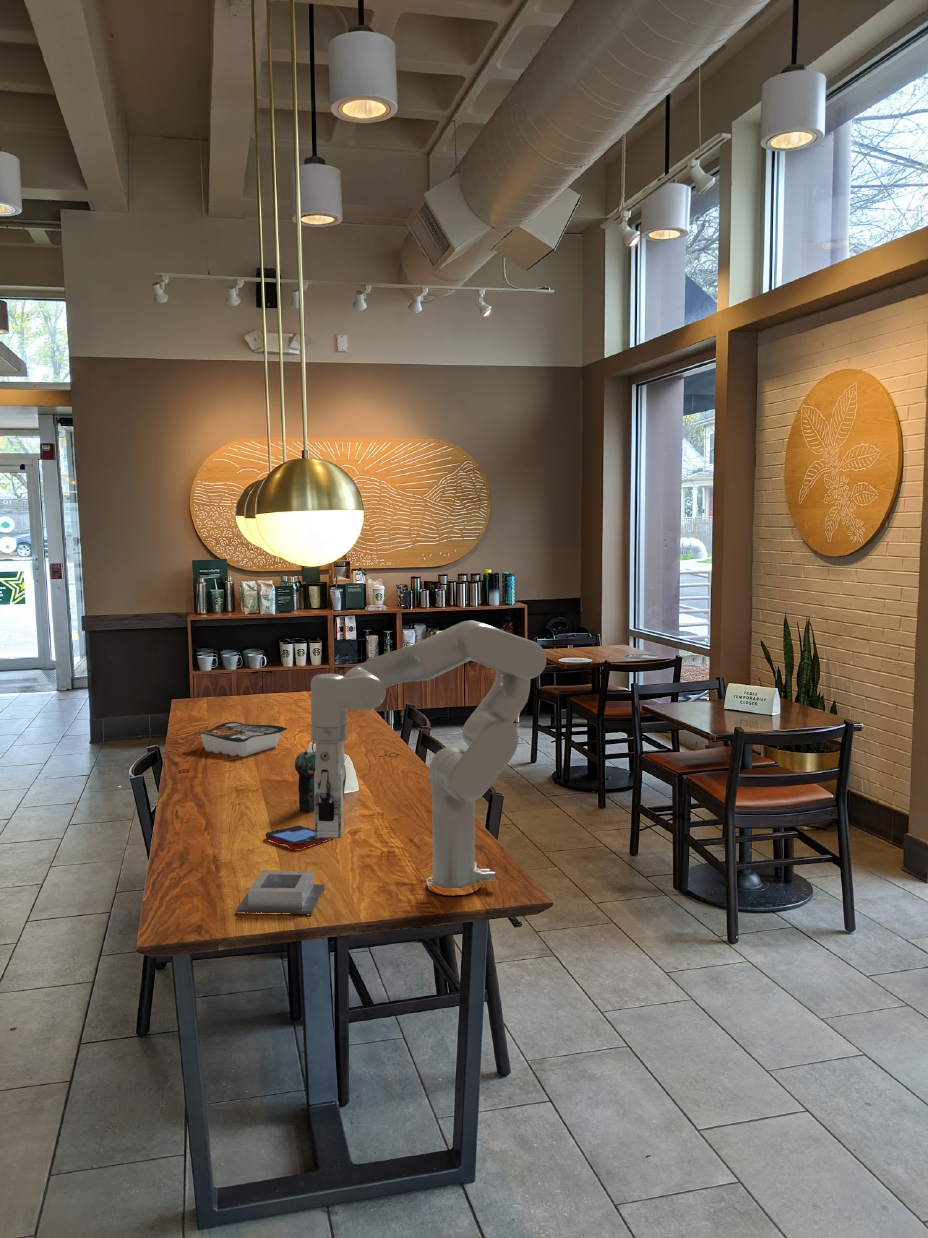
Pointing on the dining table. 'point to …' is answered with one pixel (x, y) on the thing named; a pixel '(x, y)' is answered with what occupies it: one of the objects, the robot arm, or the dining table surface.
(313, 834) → the game console
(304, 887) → the grey holder base
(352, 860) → the dining table surface
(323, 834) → the syrup box
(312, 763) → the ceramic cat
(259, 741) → the food packaging
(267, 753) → the dining table surface
